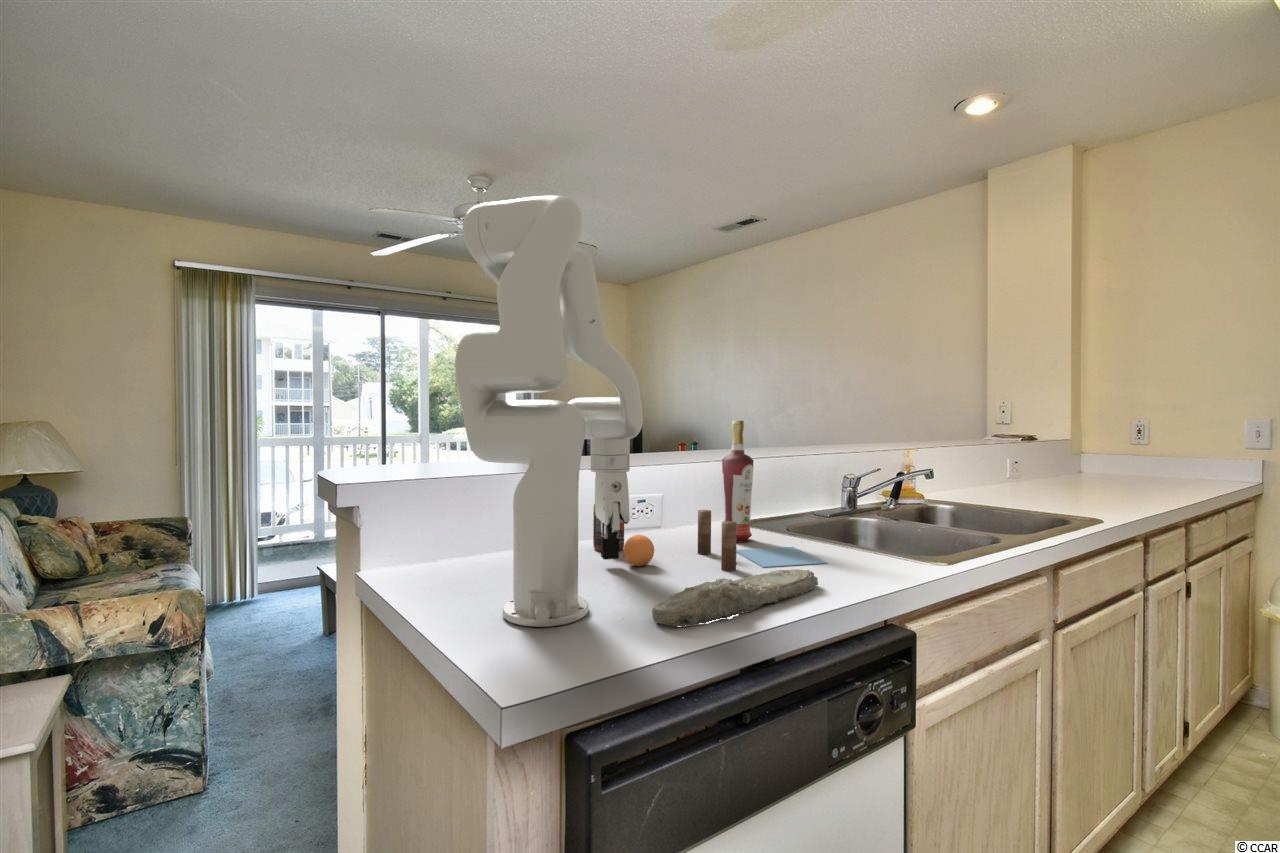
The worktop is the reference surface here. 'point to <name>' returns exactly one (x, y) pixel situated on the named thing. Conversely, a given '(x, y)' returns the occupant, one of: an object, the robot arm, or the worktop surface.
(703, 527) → the post
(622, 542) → the supplement bottle
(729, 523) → the post
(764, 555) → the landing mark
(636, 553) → the ball
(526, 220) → the robot arm
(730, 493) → the liquor
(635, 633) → the worktop surface
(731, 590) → the long grey stone
